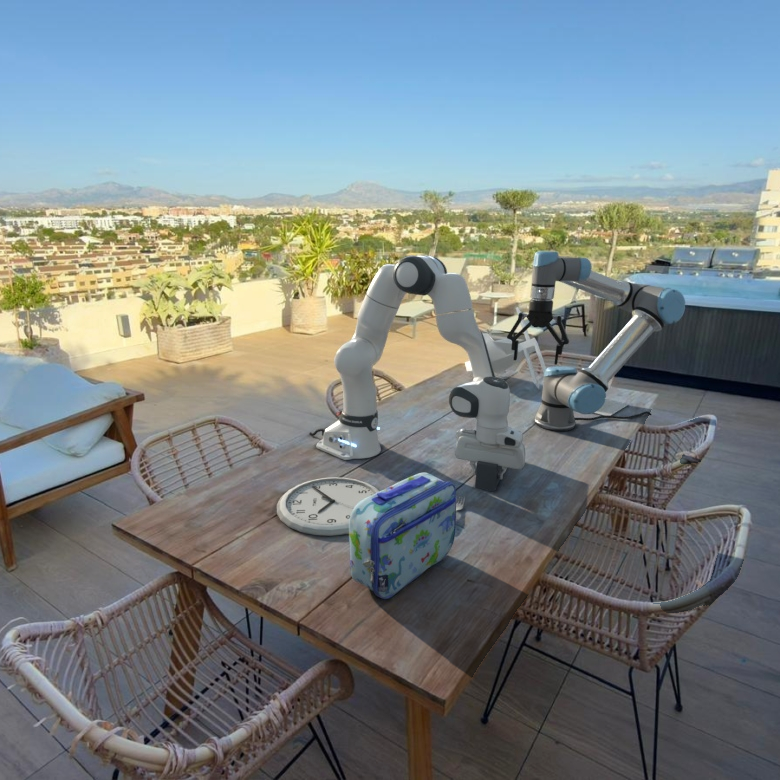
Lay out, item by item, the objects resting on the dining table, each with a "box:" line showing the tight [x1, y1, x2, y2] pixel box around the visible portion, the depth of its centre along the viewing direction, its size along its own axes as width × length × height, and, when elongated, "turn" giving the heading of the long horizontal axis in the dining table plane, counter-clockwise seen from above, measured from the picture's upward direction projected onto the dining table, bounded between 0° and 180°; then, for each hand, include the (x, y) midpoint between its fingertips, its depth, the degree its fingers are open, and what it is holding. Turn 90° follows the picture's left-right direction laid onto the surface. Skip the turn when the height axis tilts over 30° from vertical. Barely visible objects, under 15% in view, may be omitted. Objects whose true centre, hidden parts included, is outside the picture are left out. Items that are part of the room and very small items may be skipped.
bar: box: [474, 461, 502, 492], centre depth 163 cm, size 26×6×8 cm, turn 158°
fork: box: [456, 494, 466, 512], centre depth 138 cm, size 3×16×2 cm, turn 160°
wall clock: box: [276, 476, 381, 537], centre depth 142 cm, size 30×2×30 cm
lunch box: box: [348, 471, 457, 600], centre depth 113 cm, size 26×11×21 cm, turn 134°
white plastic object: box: [464, 306, 547, 390], centre depth 260 cm, size 37×45×31 cm
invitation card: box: [593, 398, 629, 416], centre depth 226 cm, size 21×1×15 cm
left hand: (487, 476), depth 155 cm, fingers closed on bar, 6 cm apart
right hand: (535, 361), depth 179 cm, fingers open, 13 cm apart
